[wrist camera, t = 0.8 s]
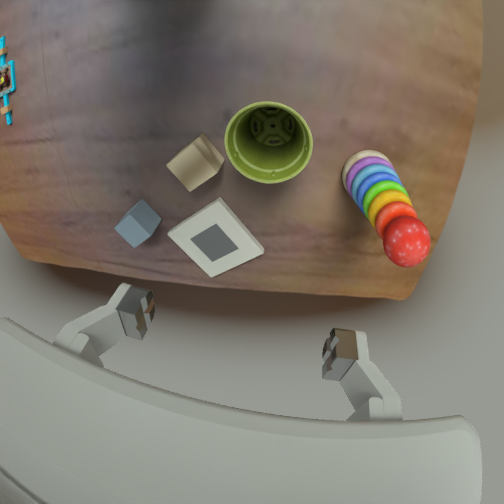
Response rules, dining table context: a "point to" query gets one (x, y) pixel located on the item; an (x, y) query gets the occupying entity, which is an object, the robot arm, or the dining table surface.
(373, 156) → the stacking toy
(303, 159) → the plant pot
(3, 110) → the gear mechanism
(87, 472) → the robot arm
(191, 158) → the maple block
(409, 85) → the dining table surface
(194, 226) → the plate
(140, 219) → the slate blue block
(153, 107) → the dining table surface
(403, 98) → the dining table surface
